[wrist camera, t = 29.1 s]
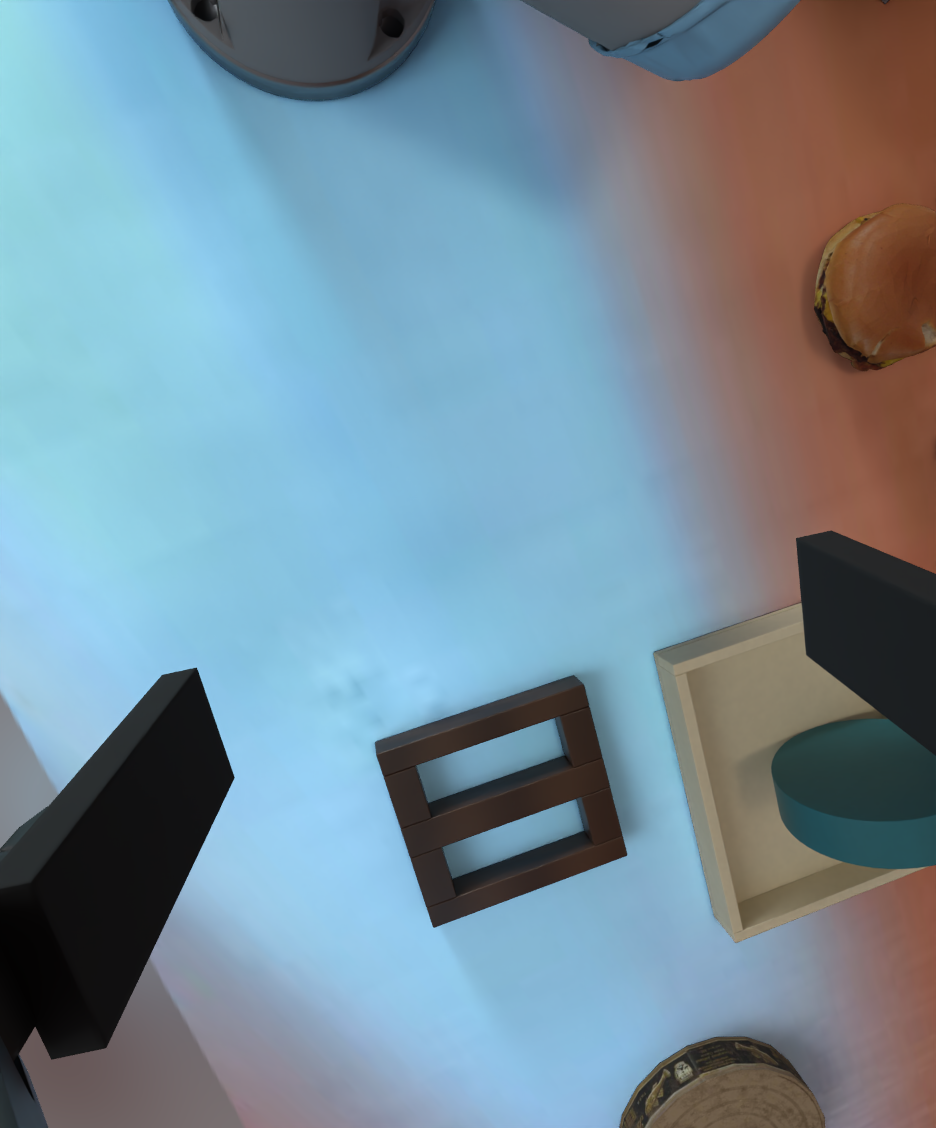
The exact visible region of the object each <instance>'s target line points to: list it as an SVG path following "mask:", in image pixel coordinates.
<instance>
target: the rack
mask: <svg viewBox="0 0 936 1128" xmlns="http://www.w3.org/2000/svg"><path fill="white" fill-rule="evenodd" d="M553 718H555V722H556V725H557V729H558V733H559V737H560V740H561V744H562V748H563V752H564V755H565V756H562V757H560V758H557V759H554V760H551V761H548V762H545V763H542V764H540V765H537V766H534V767H531V768H528V769H525V770H523V771H520V772H517V773H514V774H511V775H508V776H505V777H503V778H500V779H497V780H494V781H491V782H488V783H485V784H483V785H480V786H477V787H474V788H471V789H468V790H466V791H463V792H460V793H457V794H454V795H451V796H448V797H446V798H443V799H440V800H437V801H434V802H431V803H428V801H427V798H426V795H425V791H424V788H423V785H422V782H421V779H420V776H419V773H418V769H417V766H416V765H418V764H421V763H424V762H427V761H430V760H433V759H436V758H439V757H442V756H445V755H448V754H451V753H453V752H456V751H459V750H462V749H465V748H468V747H471V746H474V745H477V744H480V743H483V742H486V741H488V740H491V739H494V738H497V737H500V736H503V735H506V734H509V733H512V732H515V731H518V730H520V729H523V728H526V727H529V726H532V725H535V724H538V723H541V722H544V721H547V720H550V719H553ZM375 747H376V755H377V758H378V761H379V764H380V768H381V771H382V774H383V776H384V780H385V783H386V786H387V789H388V792H389V795H390V798H391V801H392V804H393V807H394V810H395V813H396V816H397V819H398V822H399V825H400V828H401V831H402V834H403V837H404V840H405V843H406V847H407V850H408V853H409V856H410V858H411V862H412V865H413V868H414V871H415V874H416V877H417V880H418V883H419V886H420V889H421V892H422V895H423V898H424V901H425V904H426V907H427V910H428V913H429V916H430V919H431V922H432V925H433V927H434V928H435V927H437V926H440V925H443V924H445V923H448V922H451V921H453V920H456V919H459V918H461V917H464V916H467V915H469V914H472V913H475V912H477V911H480V910H483V909H485V908H488V907H491V906H494V905H496V904H499V903H502V902H504V901H507V900H510V899H512V898H515V897H518V896H520V895H523V894H526V893H528V892H531V891H534V890H536V889H539V888H542V887H544V886H547V885H550V884H552V883H555V882H558V881H560V880H563V879H566V878H569V877H571V876H574V875H577V874H579V873H582V872H585V871H587V870H590V869H593V868H595V867H598V866H601V865H603V864H606V863H609V862H611V861H614V860H617V859H619V858H622V857H625V856H627V851H626V847H625V843H624V839H623V836H622V832H621V828H620V824H619V820H618V816H617V812H616V808H615V804H614V800H613V796H612V792H611V789H610V785H609V781H608V777H607V773H606V769H605V765H604V761H603V758H602V754H601V750H600V746H599V742H598V738H597V734H596V730H595V726H594V722H593V718H592V714H591V711H590V707H589V703H588V699H587V695H586V691H585V687H584V684H583V683H582V682H581V681H580V680H579V679H578V678H577V677H576V676H575V675H573V676H570V677H567V678H564V679H561V680H558V681H555V682H552V683H549V684H546V685H543V686H540V687H537V688H534V689H531V690H528V691H525V692H522V693H519V694H516V695H513V696H510V697H507V698H504V699H501V700H498V701H496V702H493V703H490V704H487V705H484V706H481V707H478V708H475V709H472V710H469V711H466V712H463V713H460V714H457V715H454V716H451V717H448V718H445V719H442V720H439V721H436V722H433V723H430V724H427V725H424V726H421V727H418V728H415V729H412V730H409V731H406V732H403V733H400V734H397V735H394V736H392V737H389V738H386V739H383V740H380V741H377V742H375ZM574 799H576V800H577V804H578V808H579V811H580V815H581V819H582V823H583V826H584V830H585V831H584V832H581V833H579V834H576V835H573V836H570V837H568V838H565V839H562V840H559V841H557V842H554V843H551V844H549V845H546V846H543V847H540V848H538V849H535V850H532V851H529V852H527V853H524V854H521V855H518V856H516V857H513V858H510V859H508V860H505V861H502V862H499V863H497V864H494V865H491V866H488V867H486V868H483V869H480V870H477V871H475V872H472V873H469V874H467V875H464V876H461V877H458V878H456V879H453V880H452V876H451V873H450V870H449V867H448V864H447V861H446V858H445V854H444V851H443V848H442V847H443V846H446V845H449V844H451V843H454V842H457V841H460V840H463V839H465V838H468V837H471V836H474V835H476V834H479V833H482V832H485V831H488V830H490V829H493V828H496V827H499V826H502V825H504V824H507V823H510V822H513V821H515V820H518V819H521V818H524V817H527V816H529V815H532V814H535V813H538V812H540V811H543V810H546V809H549V808H552V807H554V806H557V805H560V804H563V803H566V802H568V801H571V800H574Z"/></svg>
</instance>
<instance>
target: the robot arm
mask: <svg viewBox="0 0 936 1128" xmlns="http://www.w3.org/2000/svg"><path fill="white" fill-rule="evenodd" d="M521 1H523V2H524V3H526V4H528V5H530V6H531V7H533V8H535V9H537V10H539V11H540V12H542V13H544V14H546V15H547V16H549V17H551V18H553V19H555V20H556V21H558V22H560V23H562V24H563V25H565V26H567V27H569V28H571V29H572V30H574V31H576V32H578V33H579V34H581V35H583V36H585V37H586V38H588V40H589V44H590V46H591V47H592V48H593V49H594V50H596V51H597V52H599V53H600V54H602V55H604V56H611V57H615V58H624V59H626V60H628V61H630V62H632V63H634V64H636V65H638V66H640V67H642V68H644V69H646V70H648V71H650V72H652V73H654V74H656V75H658V76H660V77H662V78H665V79H667V80H672V81H683V80H692V79H702V78H705V77H708V76H710V75H712V74H714V73H716V72H718V71H720V70H722V69H724V68H726V67H727V66H729V65H730V64H732V63H733V62H735V61H736V60H738V59H739V58H740V57H742V56H743V55H744V54H746V53H747V52H748V51H750V50H751V49H752V48H753V47H754V46H756V45H757V44H758V43H759V42H760V41H761V40H762V39H763V38H764V37H765V36H767V35H768V34H769V33H770V32H771V31H772V30H773V29H774V28H775V27H776V26H777V25H778V24H779V23H780V22H781V21H782V20H783V19H784V18H785V17H786V16H787V15H788V14H789V13H790V11H791V10H792V9H793V8H794V7H795V6H796V5H797V4H798V3H799V2H800V0H521ZM168 2H169V4H170V6H171V8H172V9H173V11H174V13H175V14H176V16H177V18H178V19H179V21H180V22H181V24H182V25H183V27H184V28H185V29H186V31H187V32H188V33H189V35H190V36H191V37H192V38H193V40H194V41H195V42H196V43H197V44H198V45H199V46H200V48H201V49H202V50H203V51H205V52H206V53H207V54H208V55H209V56H210V57H211V58H212V59H213V60H214V61H215V62H217V63H218V64H219V65H220V66H221V67H223V68H224V69H225V70H227V71H228V72H230V73H231V74H233V75H234V76H236V77H237V78H239V79H241V80H242V81H244V82H246V83H248V84H250V85H252V86H254V87H256V88H258V89H261V90H263V91H266V92H269V93H272V94H275V95H278V96H282V97H287V98H291V99H299V100H316V101H320V100H331V99H337V98H342V97H346V96H350V95H353V94H356V93H359V92H361V91H363V90H365V89H368V88H370V87H372V86H373V85H375V84H377V83H379V82H380V81H382V80H383V79H385V78H386V77H387V76H389V75H390V74H391V73H392V72H394V71H395V70H396V69H397V68H398V67H399V66H400V65H401V64H402V63H403V62H404V61H405V59H406V58H407V57H408V56H409V55H410V54H411V52H412V51H413V49H414V48H415V46H416V45H417V43H418V42H419V40H420V38H421V36H422V34H423V33H424V31H425V29H426V26H427V24H428V21H429V19H430V17H431V13H432V10H433V7H434V4H435V0H168ZM796 543H797V555H798V566H799V578H800V590H801V602H802V613H803V625H804V637H805V649H806V656H808V657H809V658H810V659H812V660H813V661H814V662H815V663H817V664H818V665H819V666H821V667H822V668H823V669H824V670H826V671H827V672H828V673H830V674H831V675H832V676H833V677H835V678H836V679H837V680H839V681H840V682H841V683H842V684H844V685H845V686H846V687H848V688H849V689H850V690H851V691H853V692H854V693H855V694H857V695H858V696H859V697H860V698H862V699H863V700H864V701H866V702H867V703H868V704H869V705H871V706H872V707H873V708H875V709H876V710H877V711H879V712H880V713H881V714H882V715H884V716H885V717H886V718H888V719H889V720H890V721H891V722H893V723H894V724H895V725H897V726H898V727H899V728H900V729H902V730H903V731H904V732H906V733H907V734H908V735H909V736H911V737H912V738H913V739H915V740H916V741H917V742H918V743H920V744H921V745H922V746H924V747H925V748H926V749H927V750H929V751H930V752H931V753H933V754H934V755H935V756H936V574H934V573H932V572H929V571H927V570H925V569H922V568H920V567H917V566H915V565H913V564H910V563H908V562H905V561H903V560H901V559H898V558H896V557H893V556H891V555H889V554H886V553H884V552H881V551H879V550H877V549H874V548H872V547H869V546H867V545H865V544H862V543H860V542H857V541H855V540H853V539H850V538H848V537H845V536H843V535H841V534H838V533H836V532H833V531H827V532H823V533H818V534H813V535H809V536H804V537H799V538H796ZM234 778H235V777H234V774H233V771H232V769H231V766H230V763H229V760H228V757H227V754H226V751H225V748H224V745H223V742H222V739H221V737H220V734H219V731H218V728H217V725H216V722H215V719H214V716H213V713H212V710H211V707H210V704H209V702H208V699H207V696H206V693H205V690H204V687H203V684H202V681H201V678H200V675H199V672H198V670H197V668H193V669H188V670H183V671H179V672H174V673H169V674H165V675H162V676H161V677H160V678H159V679H158V680H157V682H156V683H155V684H154V685H153V686H152V687H151V689H150V690H149V691H148V692H147V693H146V694H145V695H144V697H143V698H142V699H141V700H140V701H139V702H138V704H137V705H136V706H135V707H134V708H133V709H132V710H131V712H130V713H129V714H128V715H127V716H126V717H125V719H124V720H123V721H122V722H121V723H120V724H119V726H118V727H117V728H116V729H115V730H114V731H113V732H112V734H111V735H110V736H109V737H108V738H107V739H106V741H105V742H104V743H103V744H102V745H101V746H100V747H99V749H98V750H97V751H96V752H95V753H94V754H93V756H92V757H91V758H90V759H89V760H88V761H87V763H86V764H85V765H84V766H83V767H82V768H81V769H80V771H79V772H78V773H77V774H76V775H75V776H74V778H73V779H72V780H71V781H70V782H69V783H68V784H67V786H66V787H65V788H64V789H63V790H62V791H61V793H60V794H59V795H58V796H57V797H56V798H55V800H54V801H53V802H52V803H51V804H50V805H49V806H48V807H46V808H45V809H43V810H42V811H41V812H39V813H38V814H37V815H36V816H34V817H33V818H31V819H30V820H29V821H27V822H26V823H25V824H23V825H22V826H21V827H19V828H18V830H16V832H15V833H14V834H13V835H12V836H11V837H10V838H9V839H8V841H7V842H6V843H5V844H4V845H3V846H2V847H1V848H0V1128H48V1126H47V1123H46V1120H45V1117H44V1114H43V1112H42V1109H41V1106H40V1103H39V1101H38V1098H37V1095H36V1092H35V1090H34V1087H33V1084H32V1081H31V1079H30V1076H29V1073H28V1071H27V1069H26V1067H25V1065H24V1063H23V1061H22V1059H21V1058H20V1055H19V1052H20V1050H21V1049H22V1047H23V1046H24V1044H25V1042H26V1041H27V1039H28V1037H29V1036H30V1034H31V1032H32V1031H33V1029H34V1027H36V1029H37V1031H38V1033H39V1035H40V1037H41V1039H42V1041H43V1043H44V1045H45V1047H46V1049H47V1051H48V1053H49V1055H50V1058H51V1059H56V1058H61V1057H66V1056H70V1055H75V1054H80V1053H85V1052H90V1051H94V1050H99V1049H104V1048H106V1047H107V1045H108V1043H109V1041H110V1039H111V1037H112V1035H113V1032H114V1030H115V1028H116V1026H117V1024H118V1022H119V1020H120V1018H121V1016H122V1014H123V1011H124V1009H125V1007H126V1005H127V1003H128V1001H129V999H130V996H131V995H132V993H133V990H134V988H135V986H136V984H137V982H138V980H139V978H140V976H141V973H142V971H143V969H144V967H145V965H146V963H147V961H148V959H149V957H150V955H151V953H152V950H153V948H154V946H155V944H156V942H157V940H158V938H159V936H160V934H161V932H162V929H163V927H164V925H165V923H166V921H167V919H168V917H169V915H170V913H171V910H172V908H173V906H174V904H175V902H176V900H177V898H178V896H179V894H180V892H181V889H182V887H183V885H184V883H185V881H186V879H187V877H188V875H189V873H190V871H191V868H192V866H193V864H194V862H195V860H196V858H197V856H198V854H199V852H200V849H201V847H202V845H203V843H204V841H205V839H206V837H207V835H208V833H209V831H210V828H211V826H212V824H213V822H214V820H215V818H216V816H217V814H218V812H219V810H220V807H221V805H222V803H223V801H224V799H225V797H226V795H227V793H228V791H229V788H230V786H231V784H232V782H233V780H234Z"/></svg>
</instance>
